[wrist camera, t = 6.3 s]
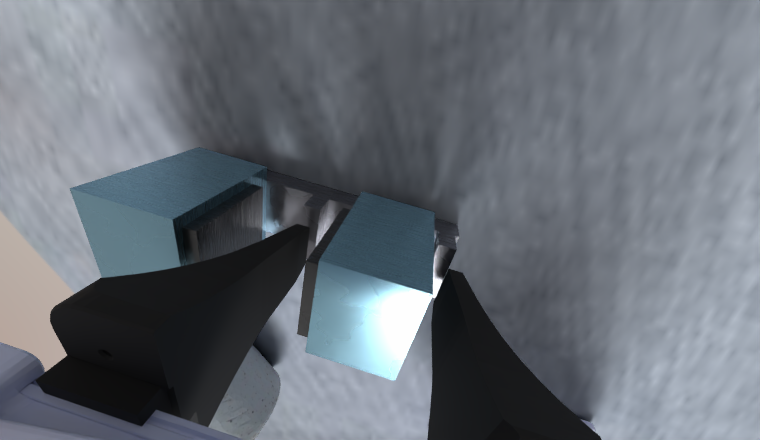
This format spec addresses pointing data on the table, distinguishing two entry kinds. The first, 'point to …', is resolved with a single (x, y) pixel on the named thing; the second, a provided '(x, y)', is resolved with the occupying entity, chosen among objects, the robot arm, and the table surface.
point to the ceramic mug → (248, 398)
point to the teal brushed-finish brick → (369, 285)
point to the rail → (209, 213)
